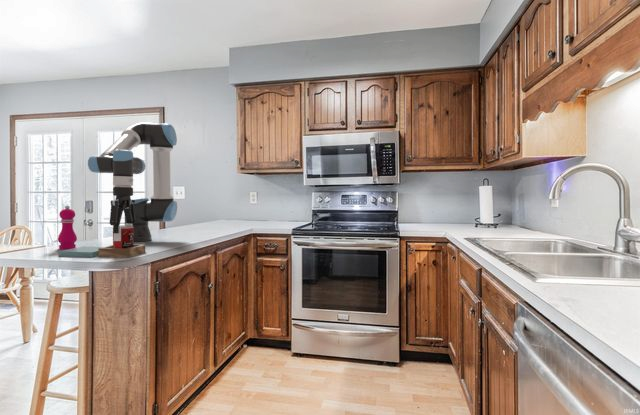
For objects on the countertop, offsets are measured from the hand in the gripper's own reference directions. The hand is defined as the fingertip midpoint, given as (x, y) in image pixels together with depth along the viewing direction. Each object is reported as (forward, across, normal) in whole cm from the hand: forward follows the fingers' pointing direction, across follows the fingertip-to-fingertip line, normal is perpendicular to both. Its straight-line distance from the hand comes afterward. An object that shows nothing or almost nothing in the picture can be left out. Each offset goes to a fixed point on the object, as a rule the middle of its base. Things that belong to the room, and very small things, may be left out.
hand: (123, 239), depth 152 cm
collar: (+6, 0, 0) cm, 6 cm away
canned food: (+5, 0, 0) cm, 5 cm away
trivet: (+6, -1, +15) cm, 16 cm away
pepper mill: (+7, +11, +33) cm, 35 cm away
